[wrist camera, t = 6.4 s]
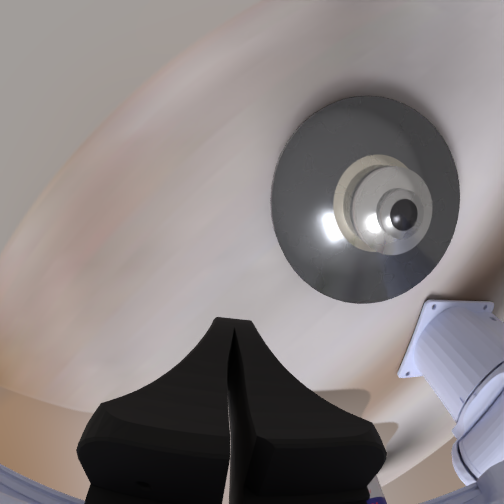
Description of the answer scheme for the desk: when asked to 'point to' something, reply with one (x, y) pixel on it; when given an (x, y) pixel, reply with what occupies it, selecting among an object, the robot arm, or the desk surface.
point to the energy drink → (375, 492)
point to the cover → (388, 208)
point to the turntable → (333, 190)
